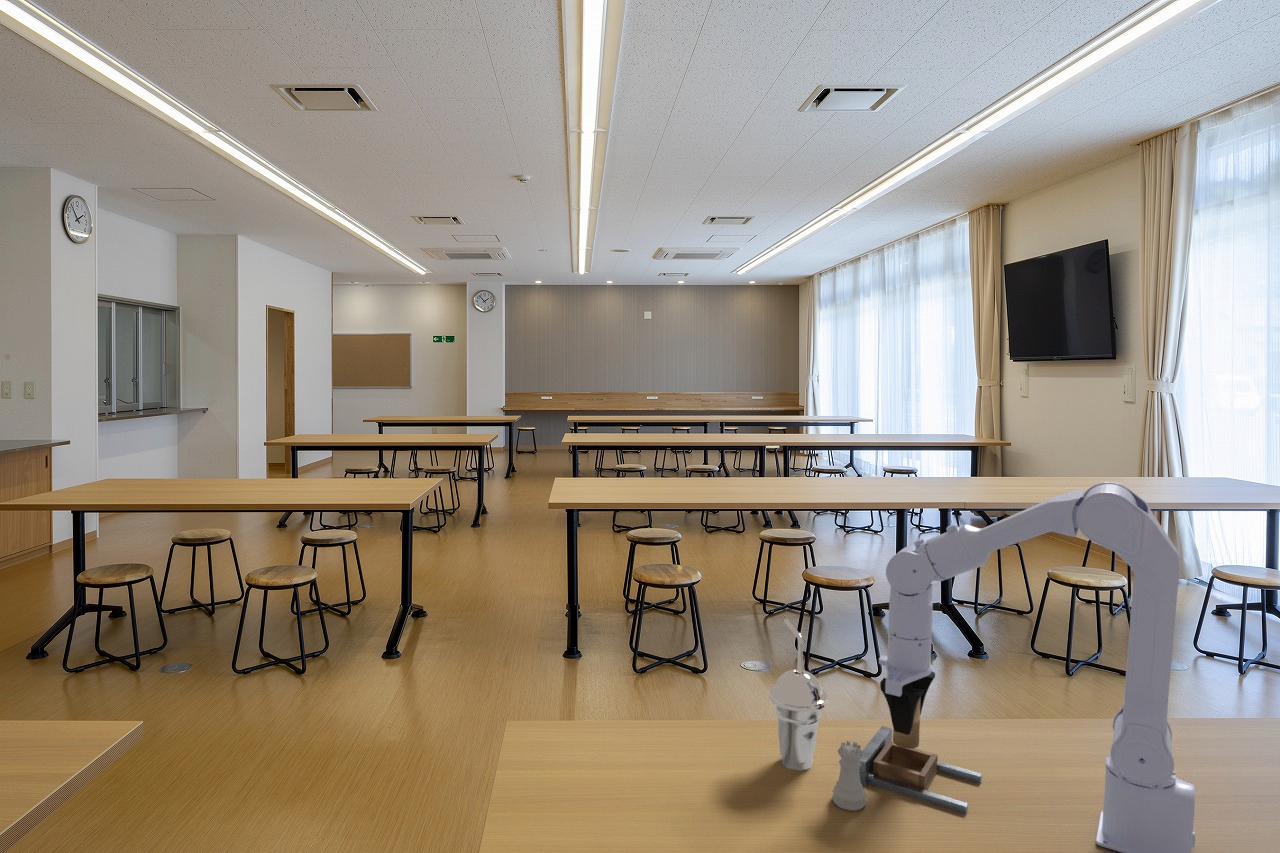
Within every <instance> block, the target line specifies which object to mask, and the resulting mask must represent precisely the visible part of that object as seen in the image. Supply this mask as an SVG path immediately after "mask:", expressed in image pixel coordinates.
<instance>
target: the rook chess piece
mask: <svg viewBox="0 0 1280 853" xmlns="http://www.w3.org/2000/svg"><path fill="white" fill-rule="evenodd" d="M837 752H838V755H839V757H840V759H839V761H838V764H839V765H840V770H839V776H838V780H836V784H835V785H834V786H833V790H832V793H833V794H832V795H831V798H832V801H833V803H834V804H835V805H836V807H837V808H840V809H841V810H844V811H848V812H857V811H860V810H862V809H863V808H864V807H865V806H866V805H867V799H866V798H867V793H866V791H865V789H864V786H862V784H861V782H860V774H859V768H860V767H861V763H860V762H859V760H860V758H861V757H862V756H863V753H862V750H861V745H860V744H858V742H855V741H853V742H852V744H851V741H850V740H846V742H844V741H842V742H841V743H840V747H839V748H838V750H837Z"/></svg>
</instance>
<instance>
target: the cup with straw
mask: <svg viewBox="0 0 1280 853" xmlns="http://www.w3.org/2000/svg"><path fill="white" fill-rule="evenodd" d="M783 622H784V624H785V625H786V626H787V627H788V629H789V631H791V632H792V633H793V635H794V636H795V637H796V638H797V666H796V667H797V668H795V669H790V670H787V671H785V672H783V673H782V674H781V675H780V676H779V677H778V678H777V681H776V682H775V685H773V686H772V687H771V688H770V689H769V692H768V693H769V694H768V699H769V701H770V702H771V703H772V704H773V705H774V707H773V708H774V711H775V716H776V721H777V722H776V723H777V731H778V742H779V750H780V752H779V753H780V756H781V760H780V763H781V764H782V765H783V766H784V767H785V768H787V769H789V770H793V771H807V770H810V769H811V768H812V767H813V759H814V758H815V751H816V750H815V749H816V745H817V744H816V743H817V736H818V729H819V723H820V720H821V715H822V713H823V709H824V708H825V707H827V705H828V704H829V699H828V698H829V697H828V694H827V692H826V691H825V690H824V689H823V687H822V685H821V683H820V681H819V679H818V678H817V677H816V676H815V675H814V674H813V673H811V672H809V671H807V670H804V669H803V658H804V656H803V655H804V654H803V653H804V649H803V647H804V640H803V636H802V634H801V633H800V632H799V631H798V630H797V628H796V627H795V626H794V625H793V624H792V622H791V621H790V620H789V618H785V619H784V620H783Z"/></svg>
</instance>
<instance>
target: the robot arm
mask: <svg viewBox="0 0 1280 853" xmlns="http://www.w3.org/2000/svg"><path fill="white" fill-rule="evenodd" d="M1084 490H1085V489H1084V488H1080V489H1076V490H1072V491H1069V492H1066V493H1063V494H1060V495H1057V496H1054V497H1051V498H1048V499H1047V500H1044V501H1042V502H1040V503H1038V504H1035V505H1032V506H1029V507H1028V508H1026V509H1024V510H1021V511H1019V512H1017V513H1016V512H1015V513H1014V514H1012V515H1010V516H1008V517H1005V518H1003V519H1001V520H999V521H997V522H994V523H992V524H990V525H987V526H985V527H982V528H980V527H976V526H973V525H970V524H966V523H965V524H962V525H960V526H959V525H958V523H953V524H951V525H950V524H949V525H948V526H947V527H946V528H945V529H946V532H944V533H941V534H938V535H936V536H933V537H930V538H929V539H926V540H924V539H923V538H920V539H918V540H915V541H914V543H913V544H914V545H912V544H911V545H907V546H905V547H904V548H901V550H899V551H898V552H897V553H896V554H894V555H893V556H892V557H891V559H890V560H889V561H888V562H887V564H886V568H885V576H886V580H887V582H888V583H889V585H890V589H889V590H890V594H889V595H890V596H889V597H890V598H889V600H888V626H887V627H888V629H887V630H888V631H887V632H888V634H887V635H888V636H887V655H885V654H884V655H881V656H880V657H879V658H878V664H879V665H881V666H885V671H886V677H883V678H882V679H881V681H880V682H879V687H880V691H881V692H882V694H883V696H884V698H885V700H886V703H887V705H888V708H889V714H890V718H891V719H890V720H891V724H892V729H893V728H894V731H895V732H899V733H903V734H906V735H909V734H910V732H911V729H912V726H913V721H914V715H915V710H916V707H917V704H918V701H919V699H920V697H921V702H920V716H921V715H922V710H923V706H924V702H925V699H926V696H927V693H928V691H929V688H930V686H931V684H932V682H933V681H934V679H935V678H936V673H935V672H934V671H933V668H932V667H933V666H932V663H931V660H932V659H931V657H932V656H931V655H932V635H933V634H932V633H933V632H932V630H933V609H934V608H933V607H934V604H933V584H932V582H933V581H934V582H935V581H936V582H943V581H945V580H948V579H951V578H953V577H956V576H958V575H962V574H965V573H967V572H969V571H970V572H971V571H973V570H976V569H979V568H980V567H983V566H986V565H987V564H988V562H989V559H990V557H991V554H992V552H994V551H997V550H1001V549H1003V548H1006V547H1009V546H1011V545H1015V544H1017V543H1020V542H1023V541H1027V540H1030V539H1033V538H1035V537H1039V536H1041V535H1045V534H1048V533H1051V532H1052V533H1057V534H1061V535H1063V536H1068V537H1071V538H1076V536H1077V533H1078V531H1080V532H1081V534H1083V536H1084V537H1085V538H1087V539H1088V540H1089V541H1091V542H1093V543H1094V544H1096V545H1098V546H1101V547H1103V548H1105V549H1108V550H1109V551H1112V552H1114V553H1115V554H1116V555H1117V556H1118V557H1119V558H1120V559H1121V560H1122V561H1124V562H1125V563H1126V565H1128V566H1129V567H1130V568H1131V569H1132V570H1133V580H1132V581H1133V582H1132V596H1131V604H1130V605H1131V606H1130V608H1131V609H1130V618H1129V619H1130V620H1129V633H1128V642H1127V643H1128V645H1127V657H1126V658H1127V659H1126V671H1125V681H1124V682H1125V684H1124V693H1123V702H1122V703H1123V704H1122V706H1121V708H1120V709H1119V710H1118V711H1117V713H1116V714H1115V715H1114V717H1113V721H1112V729H1113V737H1112V738H1113V739H1112V744H1111V747H1110V755H1108V756H1107V757H1106V759H1105V774H1104V792H1103V803H1102V804H1103V805H1102V806H1103V807H1102V810H1101V811H1100V816H1099V820H1098V825H1097V826H1098V827H1097V830H1096V836H1095V837H1096V839H1095V844H1096V845H1098V846H1100V847H1103V848H1107V849H1109V850H1112V851H1115V852H1118V853H1192V848H1193V849H1195V845H1196V832H1195V831H1194V820H1195V805H1196V804H1195V802H1196V799H1195V798H1196V787H1195V785H1194V784H1193V783H1189V782H1188V781H1185V780H1182V779H1180V778H1178V777H1177V776H1176V772H1175V759H1174V756H1173V750H1172V748H1173V747H1172V741H1173V740H1172V737H1173V732H1172V728H1171V725H1170V723H1169V722H1168V713H1169V712H1168V711H1169V710H1168V706H1169V693H1170V682H1171V670H1172V660H1173V659H1172V658H1173V646H1174V635H1175V627H1176V626H1175V623H1176V612H1177V601H1178V591H1179V590H1178V589H1179V579H1180V578H1179V577H1180V566H1181V563H1180V555H1179V551H1178V549H1177V547H1176V546H1175V544H1174V543H1173V542H1172V540H1171V539H1170V537H1169V535H1168V534H1167V533H1166V531H1165V529H1164V528H1163V527H1162V525H1161V524H1160V522H1159V520H1158V519H1157V518H1156V516H1155V515H1154V513H1153V511H1152V510H1151V508H1150V507H1149V505H1148V503H1147V502H1146V500H1144V499H1143V498H1142V497H1140V496H1139V495H1138V494H1136V493H1135V492H1133V491H1132V489H1129V487H1126V486H1125V485H1123V484H1121V483H1118V482H1114V481H1113V482H1112V481H1104V482H1103V481H1102V482H1098V483H1095V484H1093V485H1092V486H1090V487H1089V488H1087V490H1086V491H1085V492H1084ZM1083 492H1084V493H1083ZM1082 494H1083V495H1082Z"/></svg>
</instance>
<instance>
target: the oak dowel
mask: <svg viewBox="0 0 1280 853" xmlns="http://www.w3.org/2000/svg"><path fill="white" fill-rule="evenodd" d="M920 702H921V697H920V699H919V701H918V704H917V707H916V710H915V715H914V721H913V726H912V729H911V732H910V734H909V735H906V734H903V733H899V732H895V731H894V728H893V727H892V742H893V743H895V744H896V745H897V746H899V747H902V748H908V749H912V748H915V749H917V748H918V747H919V745H920V729H921V728H920V725H921V715H920Z"/></svg>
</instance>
